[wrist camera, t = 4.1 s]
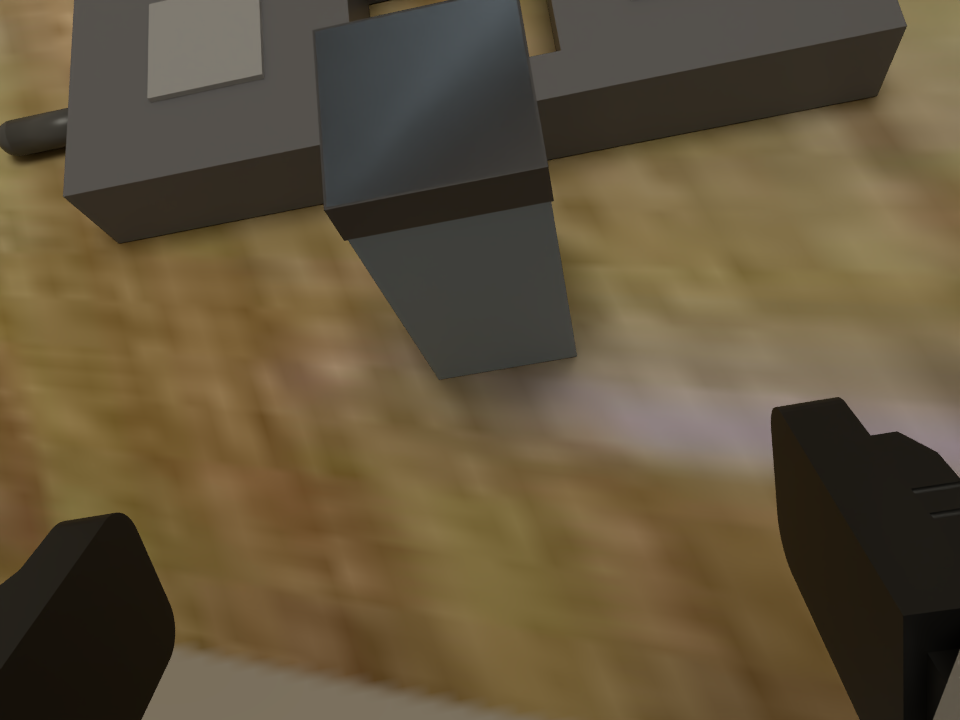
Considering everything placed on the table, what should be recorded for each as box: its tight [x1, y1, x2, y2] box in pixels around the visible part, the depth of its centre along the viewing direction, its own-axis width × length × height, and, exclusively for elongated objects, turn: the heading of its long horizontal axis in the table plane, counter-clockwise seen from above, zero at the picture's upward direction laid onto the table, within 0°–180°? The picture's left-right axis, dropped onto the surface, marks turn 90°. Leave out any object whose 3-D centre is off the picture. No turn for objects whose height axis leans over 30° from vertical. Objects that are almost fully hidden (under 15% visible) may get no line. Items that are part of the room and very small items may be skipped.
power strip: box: [0, 0, 907, 243], centre depth 27 cm, size 28×9×4 cm, turn 97°
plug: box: [312, 0, 577, 380], centre depth 21 cm, size 4×4×10 cm
